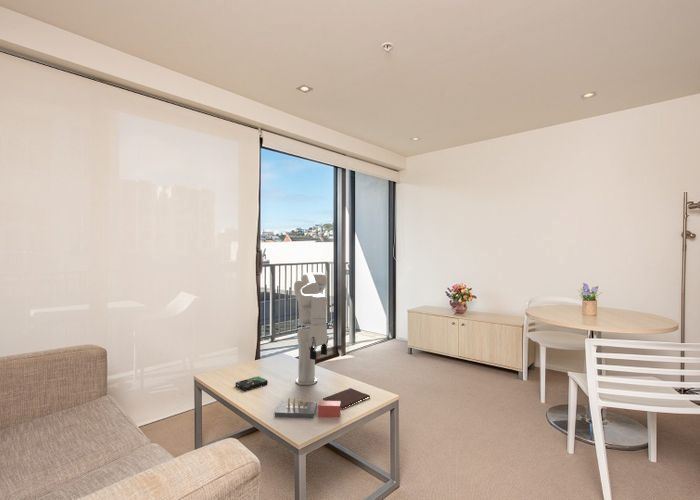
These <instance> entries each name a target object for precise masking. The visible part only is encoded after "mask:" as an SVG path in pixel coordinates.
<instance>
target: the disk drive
mask: <svg viewBox="0 0 700 500" xmlns="http://www.w3.org/2000/svg"><path fill="white" fill-rule="evenodd" d="M268 383H269V382H268V380H267V379H265V378H263V377H261V376H259V375H258V376H254V377H251V378H247V379H243V380H239V381H236V382H235V387H236V388H237V389H239V390H241V391H243V392H247V391H251V390H253V389H257V388H261V387H265V386H268Z"/></svg>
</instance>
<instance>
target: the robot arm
mask: <svg viewBox="0 0 700 500" xmlns="http://www.w3.org/2000/svg"><path fill="white" fill-rule="evenodd" d="M300 278H301V279H297V280H296V281H295V282H294V285H293V289H294V294H295V298H296V300H297V302H298V303H297V304H298V319H299V320H298V321H299V324H300V325H301V326H308V327H301V328H299V329H298V331H297V333H296V335H297V344H298V374H297V375H298V376H297V378H296V379H295V383H296V384H298V385H300V386H311V385H314V384H316V383H318V378H317V377H316V374H315V369H316V366H315V365H316V360H317V347H319V346H320V355H323V356H327V355H328V345H329V343H328V342H329V339H330V337H329V335H328V328H327V327H328V326H327V309H328V308H327V306H328V298H327V296H326V295H325V294H322V293H323V292H324V291H325V289H326V287H327V284H328V279H327V276H326V274H325V273H323V272H306V273H304V274H303V275H302V276H301V277H300Z"/></svg>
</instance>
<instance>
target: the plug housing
mask: <svg viewBox="0 0 700 500" xmlns="http://www.w3.org/2000/svg"><path fill="white" fill-rule="evenodd" d="M341 410H342V409H341V401H324V400H319V402H318V403H317V417H318V418H331V417H340V418H341Z"/></svg>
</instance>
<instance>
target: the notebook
mask: <svg viewBox="0 0 700 500" xmlns="http://www.w3.org/2000/svg"><path fill="white" fill-rule="evenodd" d="M367 397H370V398H371V396H370V395H369V394H367V393H364V392H361V391H359V390H356V389H354V388H351V387H350V388H347V389H344V390H341V391H339V392H337V393H333V394H331V395H327V396H325V397H323V398H322V401H324V400H325V401H341V408H342V409H343V408H345V407H348V406H349V405H352V404H354V403H356V402H358V401H360V400H363V399H365V398H367ZM352 406H353V405H352ZM348 408H349V407H348ZM342 409H341V410H342ZM345 409H346V408H345ZM343 410H344V409H343Z"/></svg>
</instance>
